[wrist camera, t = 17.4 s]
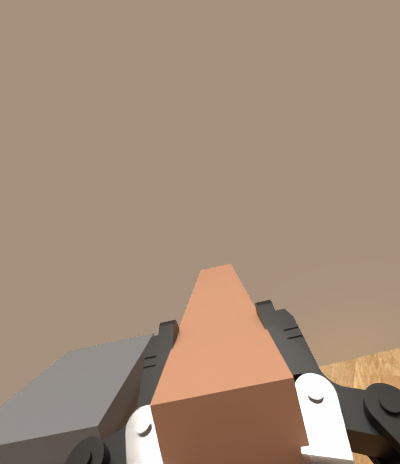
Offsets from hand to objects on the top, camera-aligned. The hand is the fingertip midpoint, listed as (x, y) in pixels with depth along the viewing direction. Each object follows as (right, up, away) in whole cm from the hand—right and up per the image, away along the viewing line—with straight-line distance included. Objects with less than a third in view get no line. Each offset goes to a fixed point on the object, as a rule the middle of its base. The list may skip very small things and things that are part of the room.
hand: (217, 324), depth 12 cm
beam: (+1, -3, +8) cm, 8 cm away
